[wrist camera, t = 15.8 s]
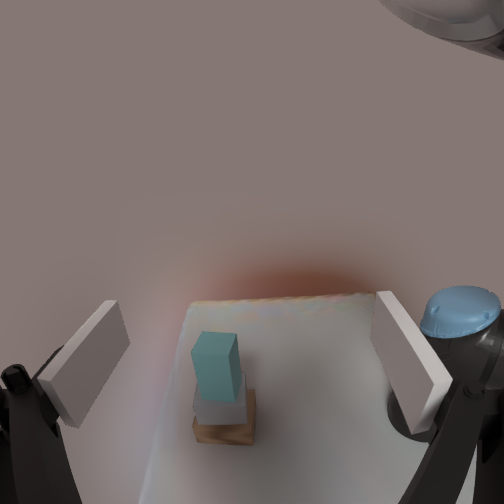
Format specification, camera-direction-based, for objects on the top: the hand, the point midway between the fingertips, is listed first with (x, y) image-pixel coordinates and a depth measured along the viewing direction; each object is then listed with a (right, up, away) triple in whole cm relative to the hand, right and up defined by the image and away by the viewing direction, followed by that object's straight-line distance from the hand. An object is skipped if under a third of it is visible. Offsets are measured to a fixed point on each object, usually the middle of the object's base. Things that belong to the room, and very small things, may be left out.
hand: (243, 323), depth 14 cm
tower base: (-4, -26, +30) cm, 40 cm away
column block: (-4, -17, +27) cm, 33 cm away
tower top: (-4, -21, +29) cm, 36 cm away
